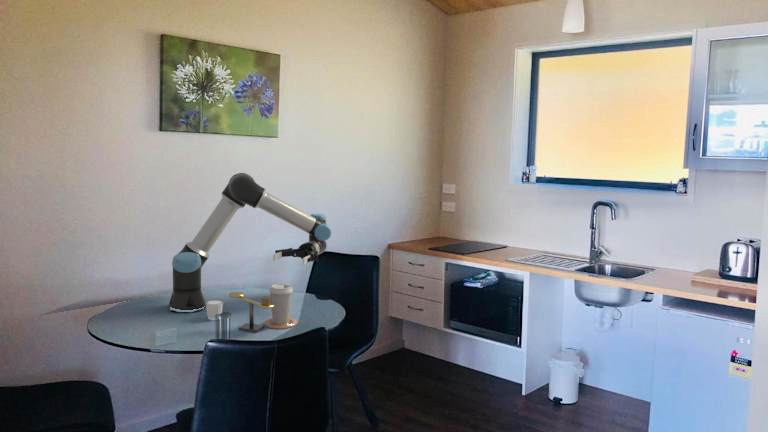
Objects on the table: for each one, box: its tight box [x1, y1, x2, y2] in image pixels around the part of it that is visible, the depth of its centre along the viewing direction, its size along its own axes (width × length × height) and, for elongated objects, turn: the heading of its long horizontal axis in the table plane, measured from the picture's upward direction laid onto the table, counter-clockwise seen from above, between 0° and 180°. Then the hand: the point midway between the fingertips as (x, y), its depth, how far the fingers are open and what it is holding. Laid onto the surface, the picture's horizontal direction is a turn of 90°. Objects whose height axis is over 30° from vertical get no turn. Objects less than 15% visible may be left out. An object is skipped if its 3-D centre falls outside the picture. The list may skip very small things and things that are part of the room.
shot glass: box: [205, 299, 224, 318], centre depth 256 cm, size 7×7×7 cm
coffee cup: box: [268, 283, 294, 324], centre depth 252 cm, size 10×10×15 cm
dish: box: [264, 317, 298, 330], centre depth 253 cm, size 13×13×1 cm
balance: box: [228, 291, 274, 334], centre depth 245 cm, size 19×6×14 cm, turn 75°
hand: (288, 259), depth 264 cm, fingers open, 13 cm apart
